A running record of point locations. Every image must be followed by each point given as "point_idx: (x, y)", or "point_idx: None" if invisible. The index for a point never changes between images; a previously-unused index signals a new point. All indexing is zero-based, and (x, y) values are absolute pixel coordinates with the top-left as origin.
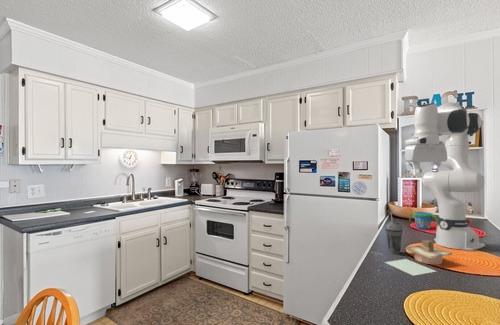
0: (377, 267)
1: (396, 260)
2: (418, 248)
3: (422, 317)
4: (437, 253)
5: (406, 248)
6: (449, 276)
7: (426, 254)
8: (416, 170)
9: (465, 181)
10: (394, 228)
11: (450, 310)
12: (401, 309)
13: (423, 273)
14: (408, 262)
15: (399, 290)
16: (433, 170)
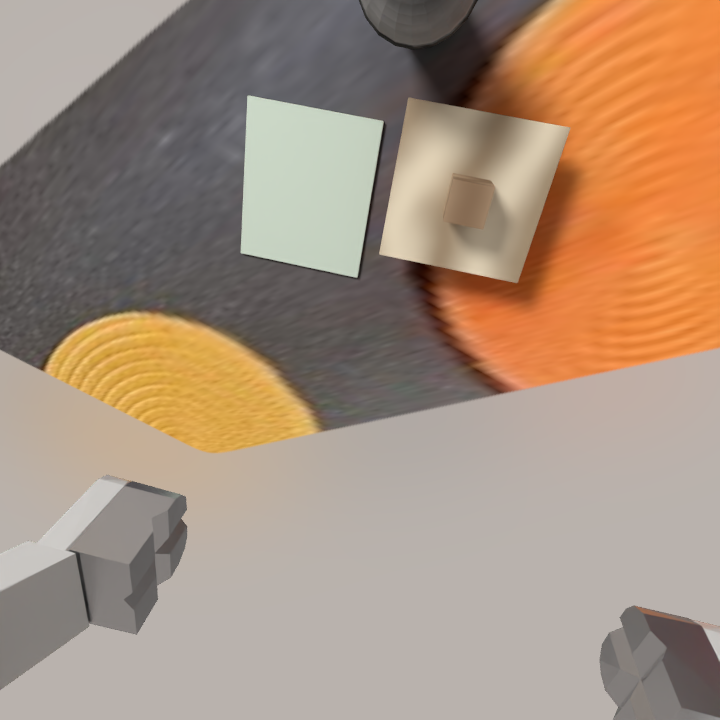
0: (182, 116)
1: (321, 109)
2: (451, 152)
3: (76, 379)
4: (447, 251)
5: (407, 105)
6: (360, 316)
7: (385, 231)
8: (74, 526)
9: None
10: (369, 13)
11: (158, 398)
12: (54, 340)
13: (291, 262)
14: (348, 159)
15: (118, 285)
16: (648, 665)
